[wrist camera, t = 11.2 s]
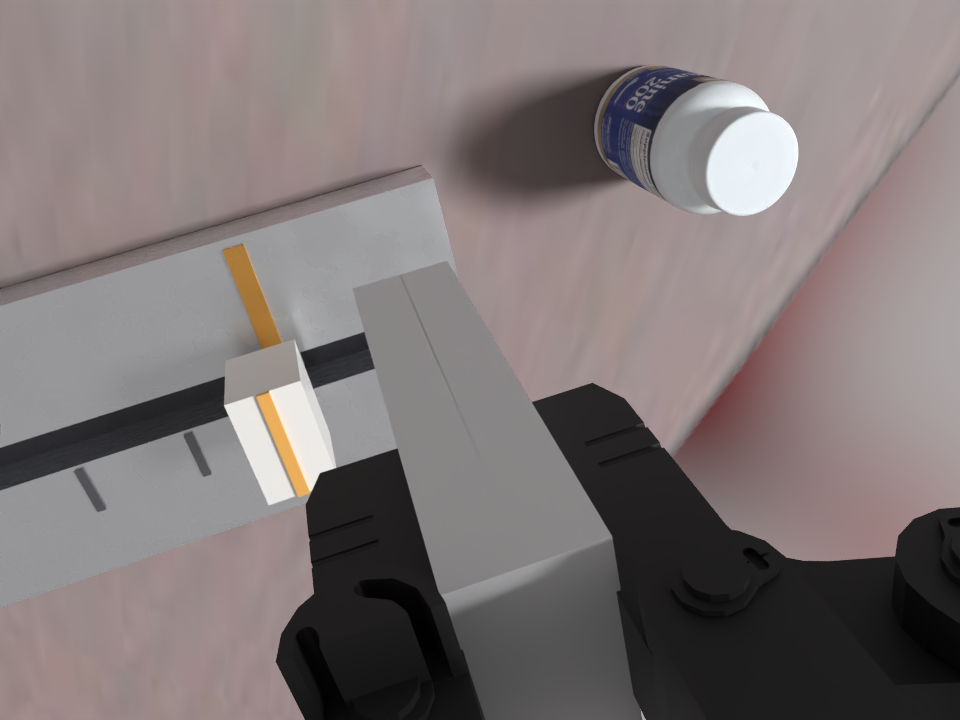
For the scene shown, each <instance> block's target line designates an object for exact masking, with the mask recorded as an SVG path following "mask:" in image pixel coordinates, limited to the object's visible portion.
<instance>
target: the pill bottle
mask: <svg viewBox="0 0 960 720" xmlns="http://www.w3.org/2000/svg"><path fill="white" fill-rule="evenodd" d="M594 134H595V141H596V145H597V149H598V151H599V153H600V155H601V157H602V159H603V160H604V162H605V163H606V164H607V165H608V166H609V167H610V168H611V169H612V170H613V171H615V172H616V173H618V174H619V175H621V176H622V177H624V178H626V179H628V180H630V181H631V182H633V183H635V184H636V185H638V186H640V187H641V188H643V189H645V190H647V191H649V192H651V193H652V194H654V195H656V196H658V197H660V198H662V199H663V200H665V201H667V202H668V203H670V204H672V205H673V206H675V207H677V208H679V209H682V210H684V211H687V212H690V213H695V214H712V213H717V212H721V211H723V212H725V213H728V214H731V215H737V216H747V215H752V214H755V213H758V212H761V211H763V210H764V209H766V208H768V207H769V206H771V205H772V204H773V203H774V202H776V201H777V200H778V199H779V198H780V197H781V195H782V194H783V193H784V192H785V191H786V189H787V188H788V186H789V184H790V183H791V181H792V178H793V176H794V173H795V170H796V167H797V161H798V144H797V139H796V136H795V134H794V131H793V130H792V128H791V127H790V125H789V124H788V123H787V122H786V121H785V120H784V119H783V118H781V117H780V116H778V115H776V114H774V113H771V112H770V111H769V110H768V108H767V106H766V104H765V103H764V102H763V100H762V99H761V98H760V97H759V96H758V95H757V94H756V93H754V92H753V91H752V90H750V89H748V88H747V87H745V86H742V85H740V84H737V83H734V82H730V81H726V80H722V79H717V78H713V77H709V76H704V75H701V74H696V73H692V72H688V71H683V70H679V69H675V68H670V67H666V66H657V65H650V66H642V67H638V68H635V69H633V70H631V71H629V72H627V73H625V74H624V75H622V76H621V77H620V78H619V79H617V80H616V81H615V82H614V83H613V84H612V85H611V86H610V87H609V88H608V90H607V91H606V93H605V94H604V96H603V98H602V100H601V102H600V104H599V107H598V110H597V113H596V117H595V124H594Z"/></svg>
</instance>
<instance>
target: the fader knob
mask: <svg viewBox="0 0 960 720" xmlns="http://www.w3.org/2000/svg"><path fill="white" fill-rule="evenodd" d="M224 406H225V409H226V411H227V413H228V415H229V418H230V420H231V422H232V424H233V427H234V429H235V431H236V433H237V435H238V438H239V440H240V442H241V444H242V447H243V449H244V451H245V453H246V456H247V458H248V460H249V462H250V465H251V467H252V469H253V471H254V474H255V476H256V478H257V480H258V483H259V485H260V487H261V489H262V491H263V494H264V496H265V498H266V500H267V503H268V505H271V504H274V503H277V502H280V501H283V500H286V499H289V498H292V497H295V496H298V497H301V496H304V495H307V494H310V491H312V490H313V487H314V485H315V483H316V481H317V479H318V476H319V474H320V473H322V472H325V471H328V470H331V469H334V468H336V463H335V458H334V453H333V447H332V442H331V437H330V432H329V430H328V427H327V424H326V422H325V419H324V416H323V414H322V411H321V408H320V406H319V403H318V400H317V398H316V395H315V393H314V390H313V387H312V385H311V382H310V379H309V377H308V374H307V371H306V369H305V364H304V361H303V358H302V355H301V353H299V350H298V347H297V345H296V342H295V339H293V340H290V341H287V342H284V343H280V344H277V345H274V346H271V347H268V348H265V349H261V350H258V351H255V352H252V353H249V354H245V355H242V356H239V357H236V358H233V359H230V360H226V367H225V394H224Z"/></svg>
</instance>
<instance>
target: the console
mask: <svg viewBox="0 0 960 720" xmlns="http://www.w3.org/2000/svg"><path fill="white" fill-rule="evenodd" d="M444 261H447V262H448V263H449V265H450V267H451V268H452V270H453V272H454V273H455V275H456V277H457V278H458V275H457V271H456V267H455V263H454V259H453V255H452V251H451V247H450V243H449V239H448V235H447V231H446V227H445V223H444V219H443V215H442V211H441V207H440V204H439V200H438V196H437V192H436V188H435V184H434V180H433V177H432V176H431V175H430V174H429V173H428V172H427V171H426V170H425V168H424V167H423V166H418V167H415V168H411V169H408V170H405V171H401V172H398V173H394V174H391V175H388V176H384V177H381V178H377V179H374V180H371V181H367V182H364V183H360V184H357V185H353V186H350V187H347V188H343V189H340V190H336V191H333V192H330V193H326V194H323V195H319V196H316V197H313V198H309V199H306V200H302V201H299V202H296V203H292V204H289V205H285V206H282V207H278V208H275V209H272V210H268V211H265V212H261V213H258V214H255V215H251V216H248V217H244V218H241V219H238V220H234V221H231V222H227V223H224V224H221V225H217V226H214V227H210V228H207V229H203V230H200V231H197V232H193V233H190V234H186V235H183V236H180V237H176V238H173V239H169V240H166V241H163V242H159V243H156V244H152V245H149V246H146V247H142V248H139V249H135V250H132V251H129V252H125V253H122V254H118V255H115V256H111V257H108V258H105V259H101V260H98V261H94V262H91V263H88V264H84V265H81V266H77V267H74V268H71V269H67V270H64V271H60V272H57V273H54V274H50V275H47V276H43V277H40V278H36V279H33V280H30V281H26V282H23V283H19V284H16V285H13V286H9V287H6V288H2V289H0V608H2V607H4V606H7V605H10V604H13V603H16V602H19V601H22V600H25V599H28V598H31V597H34V596H37V595H39V594H42V593H45V592H48V591H51V590H54V589H57V588H60V587H63V586H66V585H69V584H71V583H74V582H77V581H80V580H83V579H86V578H89V577H92V576H95V575H98V574H101V573H104V572H106V571H109V570H112V569H115V568H118V567H121V566H124V565H127V564H130V563H133V562H136V561H138V560H141V559H144V558H147V557H150V556H153V555H156V554H159V553H162V552H165V551H168V550H170V549H173V548H176V547H179V546H182V545H185V544H188V543H191V542H194V541H197V540H200V539H203V538H205V537H208V536H211V535H214V534H217V533H220V532H223V531H226V530H229V529H232V528H235V527H237V526H240V525H243V524H246V523H249V522H252V521H255V520H258V519H261V518H264V517H267V516H270V515H272V514H275V513H278V512H281V511H284V510H287V509H290V508H293V507H296V506H299V505H302V504H304V503H307V501H308V498H309V496H310V494H311V492H312V491H310V494H307V495H304V496H301V497H298V496H295V497H292V498H289V499H286V500H283V501H280V502H277V503H274V504H271V505H268V503H267V500H266V498H265V496H264V494H263V491H262V489H261V487H260V485H259V483H258V480H257V478H256V476H255V474H254V471H253V469H252V467H251V465H250V462H249V460H248V458H247V456H246V453H245V451H244V449H243V447H242V444H241V442H240V440H239V438H238V435H237V433H236V431H235V429H234V427H233V424H232V422H231V420H230V418H229V415H228V413H227V411H226V409H225V406H224V394H225V367H226V360H230V359H233V358H236V357H239V356H242V355H245V354H249V353H252V352H255V351H258V350H261V349H265V348H268V347H271V346H274V345H277V344H280V343H284V342H287V341H290V340H293V339H295V342H296V345H297V347H298V350H299V353H301V355H302V358H303V361H304V364H305V369H306V371H307V374H308V377H309V379H310V382H311V385H312V387H313V390H314V393H315V395H316V398H317V400H318V403H319V406H320V408H321V411H322V414H323V416H324V419H325V422H326V424H327V427H328V430H329V432H330V437H331V442H332V447H333V453H334V458H335V463H336V468H337V467H341V466H344V465H347V464H350V463H353V462H356V461H359V460H362V459H366V458H369V457H372V456H375V455H378V454H381V453H384V452H387V451H391V450H394V449H397V444H396V441H395V437H394V434H393V430H392V427H391V423H390V420H389V416H388V413H387V409H386V406H385V402H384V399H383V395H382V392H381V388H380V385H379V381H378V378H377V374H376V371H375V367H374V364H373V360H372V357H371V353H370V350H369V346H368V343H367V339H366V336H365V332H364V329H363V325H362V321H361V318H360V314H359V311H358V307H357V304H356V300H355V297H354V293H353V290H352V289H353V288H356V287H359V286H363V285H366V284H370V283H373V282H376V281H380V280H383V279H387V278H390V277H393V276H397V275H400V274H404V273H407V272H410V271H414V270H417V269H421V268H424V267H427V266H431V265H434V264H437V263H441V262H444ZM458 280H459V279H458Z"/></svg>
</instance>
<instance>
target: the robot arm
mask: <svg viewBox="0 0 960 720" xmlns="http://www.w3.org/2000/svg"><path fill="white" fill-rule="evenodd" d="M352 290H353V293H354V297H355V300H356V304H357V307H358V311H359V314H360V318H361V321H362V325H363V329H364V332H365V336H366V339H367V343H368V346H369V350H370V353H371V357H372V360H373V364H374V367H375V371H376V374H377V378H378V381H379V385H380V388H381V392H382V395H383V399H384V402H385V406H386V409H387V413H388V416H389V420H390V423H391V427H392V430H393V434H394V437H395V441H396V444H397V449H394V450H391V451H387V452H384V453H381V454H378V455H375V456H372V457H369V458H366V459H362V460H359V461H356V462H353V463H350V464H347V465H344V466H341V467H337V468H334V469H331V470H328V471H325V472H322V473H320V474H319V476H318V479H317V481H316V483H315V485H314V487H313V490H312V492H311V494H310V496H309V498H308V501H307V503H306V513H307V524H308V534H309V538H310V542H309V545H310V555H311V563H312V566H313V568H312V576H313V587H314V594H313V595H312V596H311V597H310V598H309V599H308V600H307V601H305V602H304V603H303V604H302V605H301V606H300V607H298V609H297V610H296V612H295V613H294V615H293V616H292V618H291V620H290V621H289V623H288V624H287V626H286V627H285V629H284V631H283V632H282V634H281V638H280V643H279V648H278V653H277V659H276V663H277V665H278V667H279V669H280V671H281V673H282V675H283V677H284V679H285V681H286V683H287V685H288V687H289V689H290V691H291V693H292V695H293V697H294V699H295V701H296V703H297V705H298V707H299V709H300V711H301V712H302V714H303V716H304V718H305V720H642V717H641V711H642V712H643V715H644V717H645V719H646V720H960V507H959V508H946V509H938V510H936V511H933V512H931V513H928V514H926V515H923V516H921V517H918V518H915V519H914V520H913V521H912V522H911V523H910V524H909V525H908V526H907V527H906V528H905V529H904V530H903V531H902V532H901V534H900V535H899V536H898V541H897V548H896V555H895V557H882V558H868V559H854V560H841V561H801V560H795V559H790V558H786V557H785V556H784V555H782V554H781V553H780V552H779V551H777V550H776V549H774V547H772V546H771V545H770V544H769V543H767V542H766V541H764V540H762V539H759V538H756V537H754V536H751V535H748V534H745V533H743V532H740V531H735V530H731V529H730V528H729V527H728V526H727V525H726V524H725V523H724V522H723V521H722V519H721V518H720V517H719V516H718V514H717V513H716V512H715V511H714V509H713V508H712V507H711V506H710V504H709V503H708V502H707V501H706V499H705V498H704V497H703V496H702V495H701V493H700V492H699V491H698V490H697V488H696V487H695V486H694V485H693V483H692V482H691V481H690V480H689V478H688V477H687V476H686V474H685V473H684V472H683V471H682V470H681V468H680V467H679V466H678V465H677V463H676V462H675V461H674V460H673V458H672V457H671V456H670V455H669V453H668V452H667V451H666V450H665V448H661V445H660V442H659V441H658V440H657V438H656V437H655V436H654V435H653V433H652V432H651V431H650V430H649V428H648V427H647V428H645V426H644V422H643V421H642V420H641V418H640V417H639V416H638V415H637V414H636V412H635V411H634V410H633V409H632V407H631V406H630V405H629V404H628V402H627V401H626V400H625V399H624V398H622V397H620V396H618V395H616V394H614V393H612V392H610V391H608V390H606V389H604V388H602V387H600V386H598V385H596V384H594V383H591V384H588V385H584V386H581V387H578V388H575V389H572V390H569V391H566V392H563V393H559V394H556V395H553V396H550V397H547V398H544V399H541V400H538V401H534V402H531V400H530V399H529V397H528V395H527V394H526V392H525V390H524V389H523V387H522V385H521V384H520V382H519V380H518V379H517V377H516V375H515V373H514V372H513V370H512V368H511V367H510V365H509V363H508V362H507V360H506V358H505V357H504V355H503V353H502V352H501V350H500V348H499V347H498V345H497V343H496V342H495V340H494V338H493V337H492V335H491V333H490V332H489V330H488V328H487V327H486V325H485V323H484V322H483V320H482V318H481V317H480V315H479V313H478V312H477V310H476V308H475V307H474V305H473V303H472V302H471V300H470V298H469V297H468V295H467V293H466V292H465V290H464V288H463V287H462V285H461V283H460V282H459V280H458V278H457V277H456V275H455V273H454V272H453V270H452V268H451V267H450V265H449V263H448V262H447V261H444V262H441V263H437V264H434V265H431V266H427V267H424V268H421V269H417V270H414V271H410V272H407V273H404V274H400V275H397V276H393V277H390V278H387V279H383V280H380V281H376V282H373V283H370V284H366V285H363V286H359V287H356V288H353V289H352ZM640 709H641V710H640Z"/></svg>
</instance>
